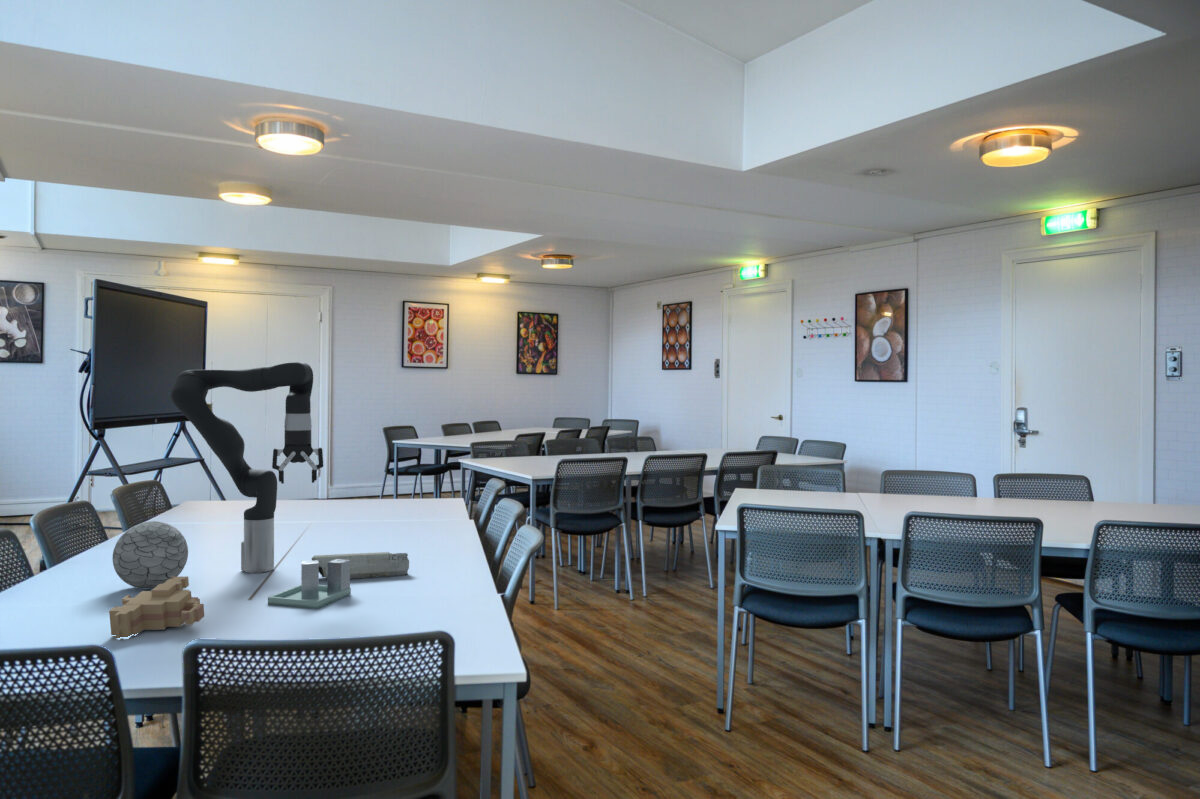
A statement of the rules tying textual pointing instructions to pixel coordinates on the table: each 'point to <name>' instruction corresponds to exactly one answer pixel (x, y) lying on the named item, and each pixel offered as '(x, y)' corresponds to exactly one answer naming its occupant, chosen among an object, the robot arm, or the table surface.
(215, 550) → the table surface
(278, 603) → the tray
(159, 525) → the decorative sphere
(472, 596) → the table surface
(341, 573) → the post
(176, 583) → the toy
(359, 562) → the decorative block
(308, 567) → the post
